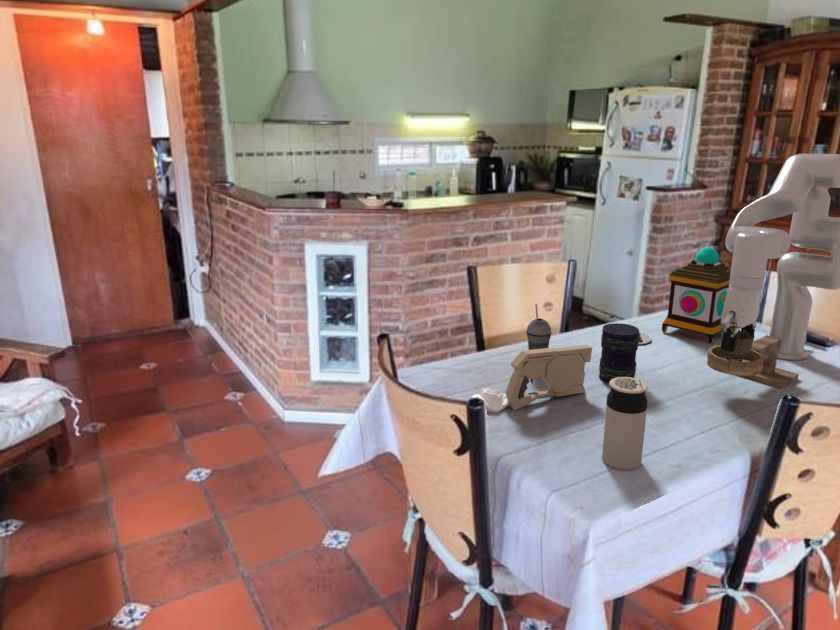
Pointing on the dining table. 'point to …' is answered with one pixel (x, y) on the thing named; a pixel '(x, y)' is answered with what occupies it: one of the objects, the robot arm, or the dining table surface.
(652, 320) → the dining table surface
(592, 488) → the dining table surface
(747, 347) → the cup
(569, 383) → the gun
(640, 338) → the beige low round piece
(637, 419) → the travel mug
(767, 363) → the rail cup bracket
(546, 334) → the beverage cup
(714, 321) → the decorative lantern
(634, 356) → the storage jar
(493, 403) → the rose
